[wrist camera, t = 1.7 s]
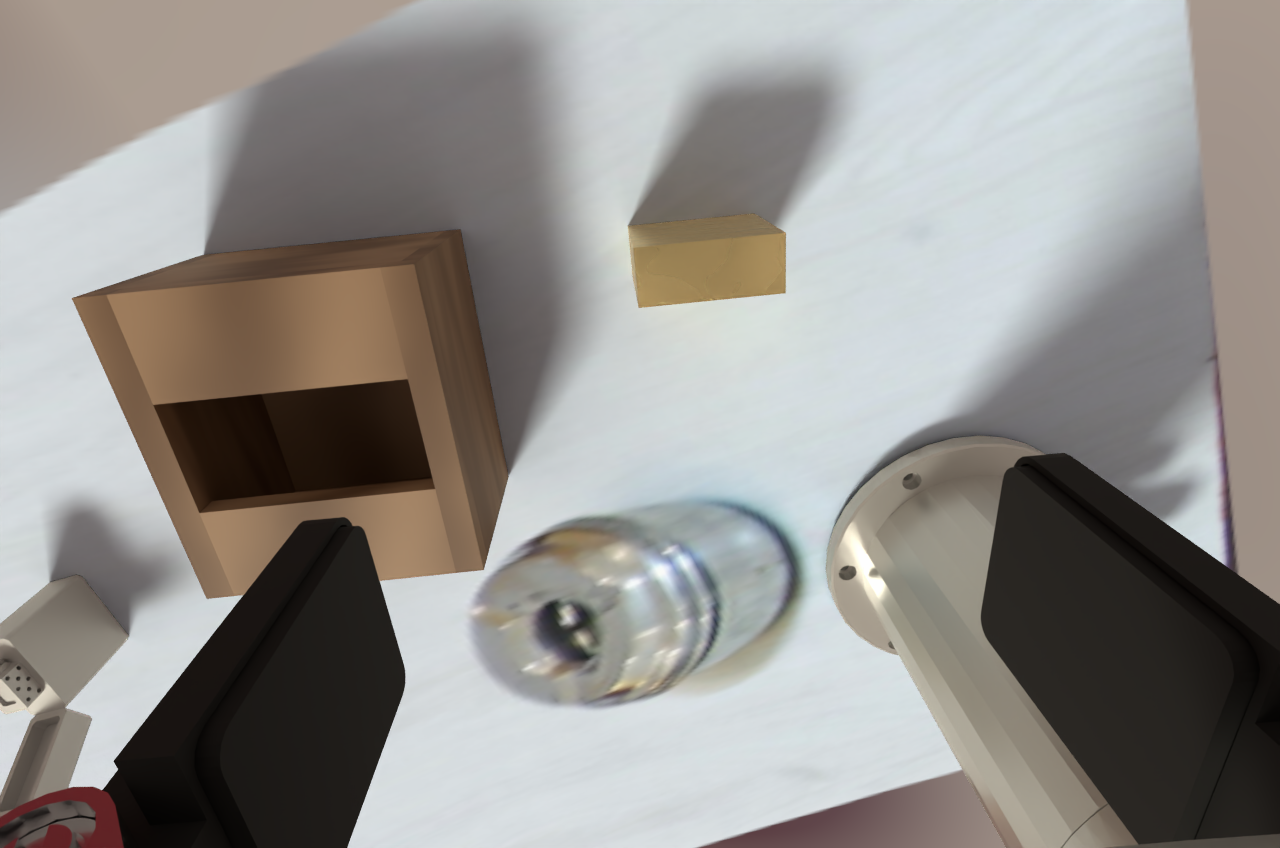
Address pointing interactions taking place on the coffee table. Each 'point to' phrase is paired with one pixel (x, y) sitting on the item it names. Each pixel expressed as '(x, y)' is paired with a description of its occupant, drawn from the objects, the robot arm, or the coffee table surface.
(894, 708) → the coffee table surface
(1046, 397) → the coffee table surface
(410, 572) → the box
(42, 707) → the lighter
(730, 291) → the gold metal block
